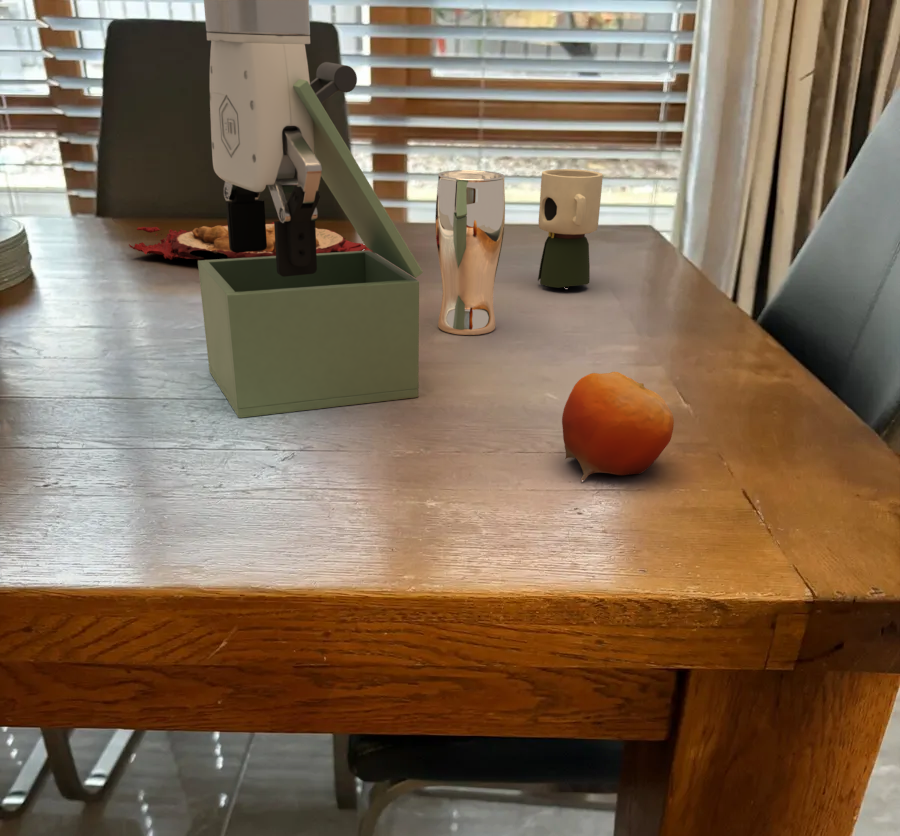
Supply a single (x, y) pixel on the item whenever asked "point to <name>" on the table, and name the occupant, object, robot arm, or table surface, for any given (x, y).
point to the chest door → (350, 170)
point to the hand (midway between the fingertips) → (271, 262)
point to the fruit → (615, 425)
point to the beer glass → (469, 247)
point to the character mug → (568, 224)
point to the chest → (310, 332)
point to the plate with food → (219, 243)
